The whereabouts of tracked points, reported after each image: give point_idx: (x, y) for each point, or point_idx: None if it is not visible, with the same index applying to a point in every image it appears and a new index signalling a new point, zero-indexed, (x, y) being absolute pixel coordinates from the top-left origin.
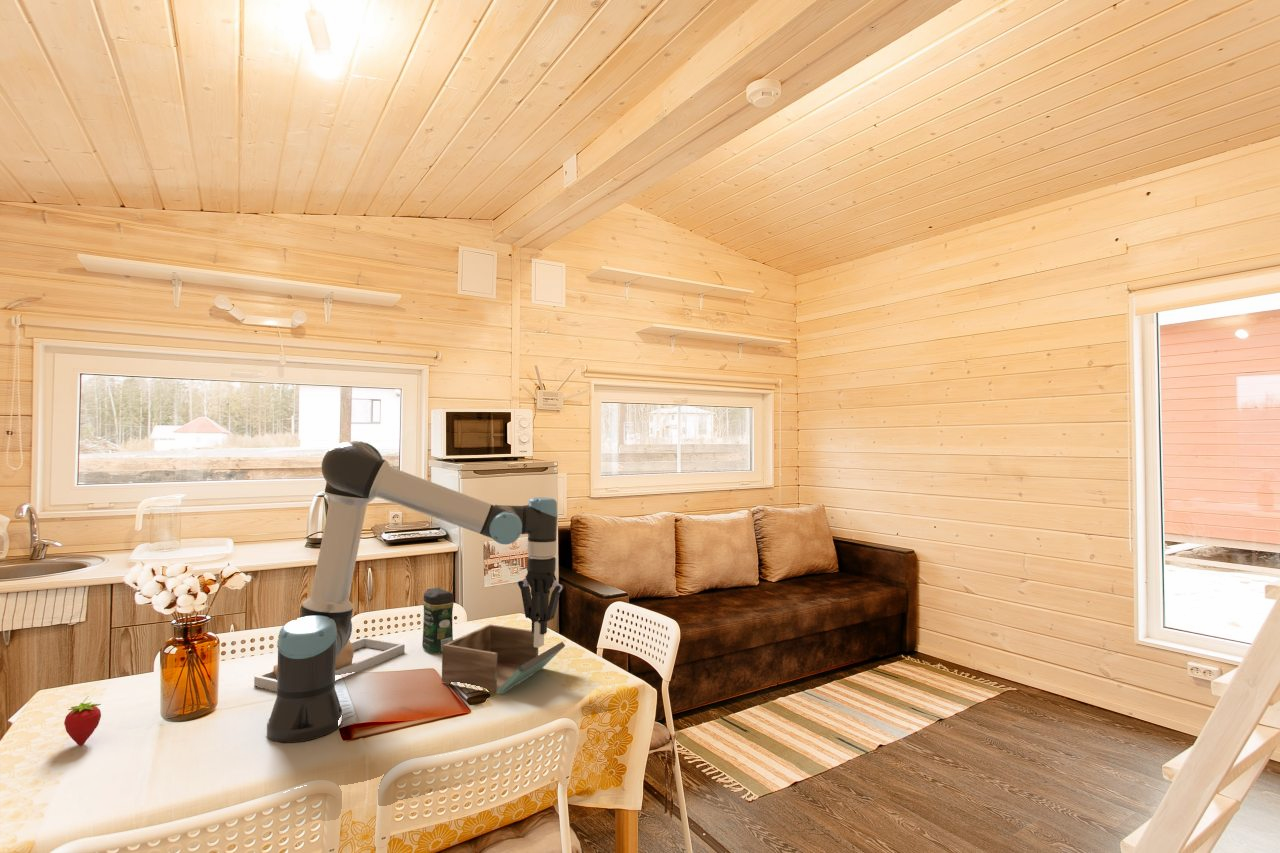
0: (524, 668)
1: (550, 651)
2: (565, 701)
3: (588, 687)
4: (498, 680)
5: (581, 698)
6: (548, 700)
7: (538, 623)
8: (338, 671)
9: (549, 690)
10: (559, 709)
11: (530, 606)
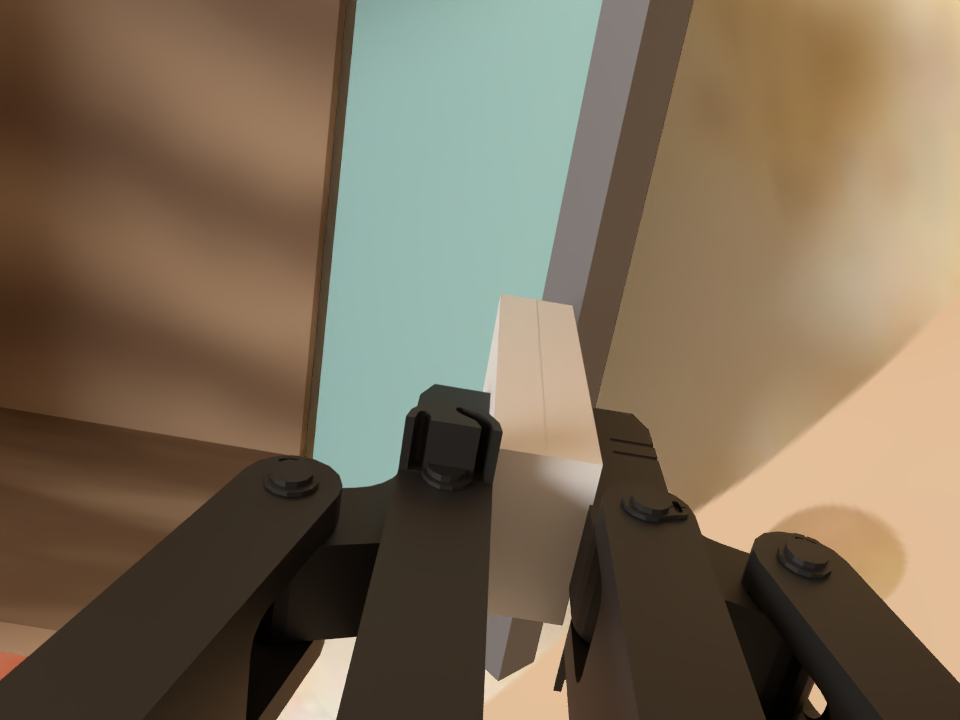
0: (529, 653)
1: (627, 193)
2: (804, 409)
3: (947, 108)
4: (187, 252)
5: (915, 335)
6: (679, 420)
7: (546, 612)
8: None
9: (632, 254)
10: (791, 526)
11: (238, 680)
